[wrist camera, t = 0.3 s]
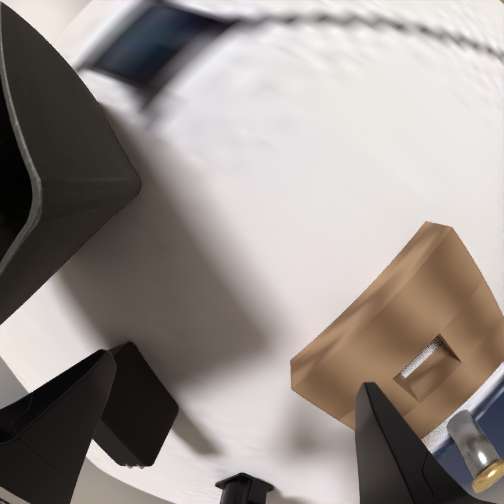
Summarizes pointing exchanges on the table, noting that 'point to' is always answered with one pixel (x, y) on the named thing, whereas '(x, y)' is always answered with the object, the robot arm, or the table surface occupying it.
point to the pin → (476, 451)
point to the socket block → (409, 336)
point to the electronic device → (135, 411)
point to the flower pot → (50, 163)
